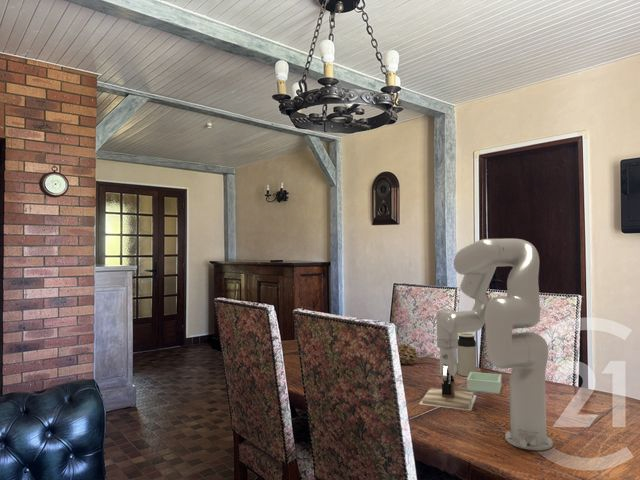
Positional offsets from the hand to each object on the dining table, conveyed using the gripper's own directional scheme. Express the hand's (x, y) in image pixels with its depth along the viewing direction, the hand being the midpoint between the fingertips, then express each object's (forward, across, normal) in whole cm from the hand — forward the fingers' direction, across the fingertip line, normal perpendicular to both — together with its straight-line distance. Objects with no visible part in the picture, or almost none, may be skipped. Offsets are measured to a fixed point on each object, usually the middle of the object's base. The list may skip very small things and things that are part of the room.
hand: (448, 391), depth 170 cm
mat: (+4, 0, 0) cm, 4 cm away
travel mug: (+4, +40, -2) cm, 40 cm away
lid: (+3, 0, 0) cm, 3 cm away
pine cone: (+4, +50, +25) cm, 56 cm away
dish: (+4, +20, -11) cm, 23 cm away
